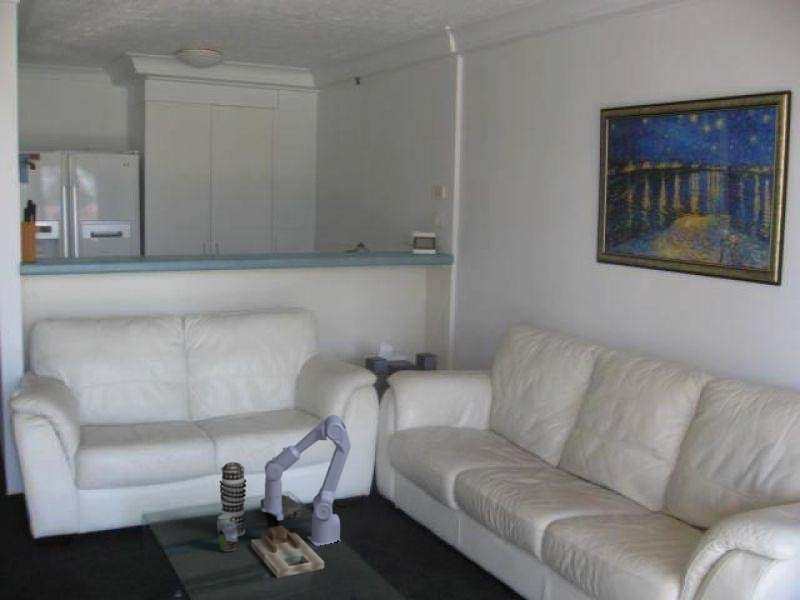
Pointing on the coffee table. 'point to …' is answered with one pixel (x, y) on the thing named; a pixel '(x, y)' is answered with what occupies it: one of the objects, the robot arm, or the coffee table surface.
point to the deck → (287, 555)
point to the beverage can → (227, 532)
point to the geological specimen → (287, 507)
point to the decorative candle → (234, 494)
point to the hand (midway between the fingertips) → (273, 532)
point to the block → (277, 534)
